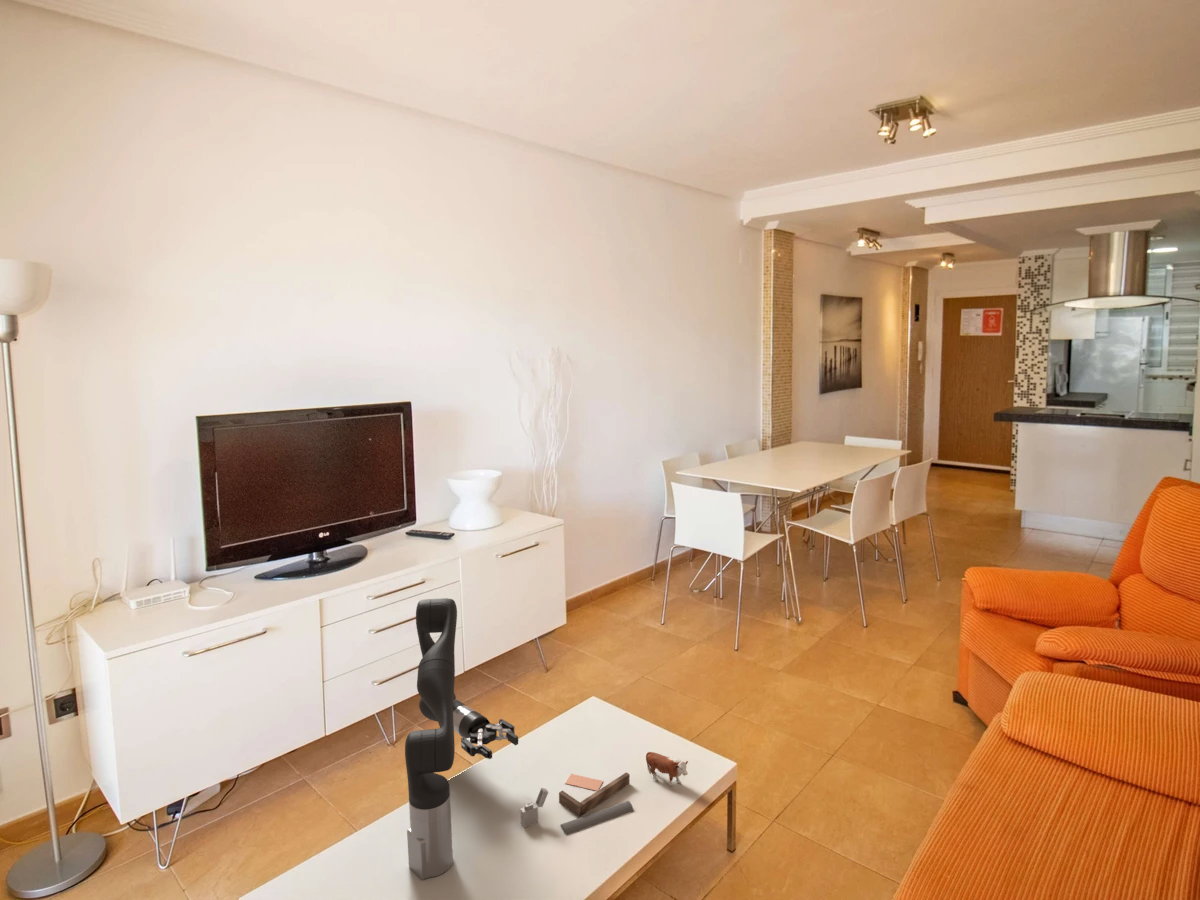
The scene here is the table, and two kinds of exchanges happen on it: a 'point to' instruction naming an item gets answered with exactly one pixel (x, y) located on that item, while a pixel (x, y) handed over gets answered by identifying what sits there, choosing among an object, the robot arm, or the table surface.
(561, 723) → the table surface
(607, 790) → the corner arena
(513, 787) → the table surface
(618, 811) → the gray half cylinder
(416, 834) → the robot arm
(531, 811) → the lighter
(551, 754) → the table surface
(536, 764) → the table surface
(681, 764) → the bull figurine
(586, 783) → the pad
